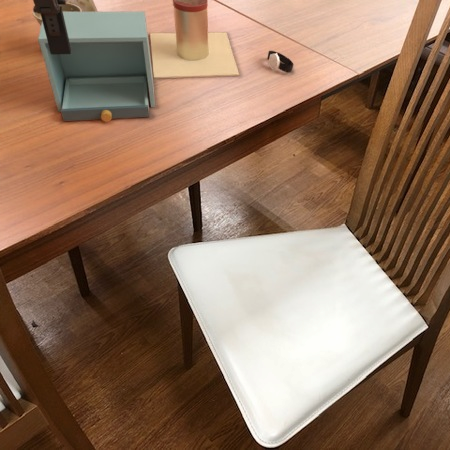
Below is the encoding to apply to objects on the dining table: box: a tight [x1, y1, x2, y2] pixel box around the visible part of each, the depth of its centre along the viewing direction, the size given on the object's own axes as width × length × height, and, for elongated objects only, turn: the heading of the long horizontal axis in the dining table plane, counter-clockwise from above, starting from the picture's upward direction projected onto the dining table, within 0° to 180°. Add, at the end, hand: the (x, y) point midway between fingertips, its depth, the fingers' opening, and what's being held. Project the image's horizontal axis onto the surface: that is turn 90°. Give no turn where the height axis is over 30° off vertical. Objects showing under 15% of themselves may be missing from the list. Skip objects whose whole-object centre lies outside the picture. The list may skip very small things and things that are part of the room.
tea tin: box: [172, 0, 209, 60], centre depth 110 cm, size 7×7×12 cm
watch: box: [266, 50, 294, 73], centre depth 114 cm, size 8×5×4 cm, turn 36°
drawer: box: [60, 76, 150, 123], centre depth 97 cm, size 13×15×2 cm
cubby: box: [37, 10, 156, 112], centre depth 95 cm, size 11×18×14 cm, turn 104°
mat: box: [149, 31, 240, 80], centre depth 115 cm, size 20×18×1 cm
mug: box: [66, 0, 99, 12], centre depth 119 cm, size 8×10×10 cm
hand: (61, 51), depth 76 cm, fingers closed
